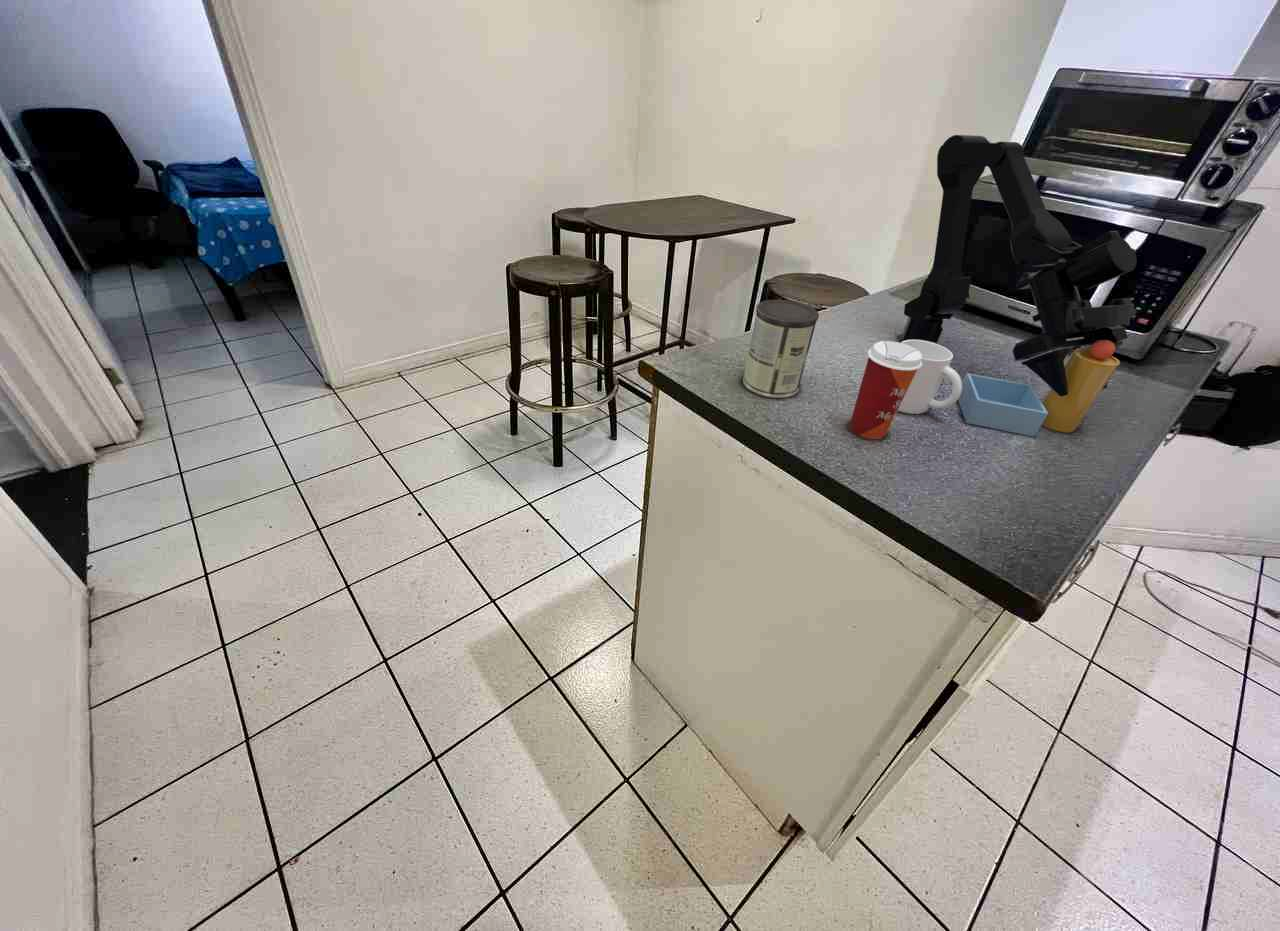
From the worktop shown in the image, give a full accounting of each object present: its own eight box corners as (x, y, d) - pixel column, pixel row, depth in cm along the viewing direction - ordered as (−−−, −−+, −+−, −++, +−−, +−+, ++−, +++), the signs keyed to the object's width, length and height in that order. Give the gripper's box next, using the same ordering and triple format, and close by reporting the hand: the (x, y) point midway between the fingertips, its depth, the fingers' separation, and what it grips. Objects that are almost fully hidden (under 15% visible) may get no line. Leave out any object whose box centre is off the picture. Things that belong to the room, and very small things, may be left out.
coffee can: (761, 366, 102) (777, 294, 93) (808, 385, 97) (830, 311, 88) (731, 383, 96) (744, 307, 87) (779, 404, 90) (799, 326, 82)
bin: (965, 423, 89) (977, 400, 86) (956, 394, 97) (966, 373, 94) (1034, 436, 87) (1048, 413, 84) (1018, 406, 95) (1031, 384, 92)
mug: (958, 417, 90) (985, 362, 84) (932, 430, 86) (959, 374, 80) (896, 387, 98) (917, 335, 92) (870, 398, 94) (890, 345, 88)
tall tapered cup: (1039, 427, 89) (1080, 360, 82) (1029, 410, 94) (1068, 345, 86) (1080, 435, 88) (1126, 368, 80) (1068, 417, 93) (1111, 352, 85)
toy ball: (1088, 358, 83) (1103, 341, 81) (1082, 351, 85) (1096, 334, 83) (1108, 364, 82) (1123, 348, 80) (1102, 356, 84) (1116, 340, 82)
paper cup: (886, 448, 81) (921, 367, 73) (837, 432, 84) (865, 351, 76) (896, 426, 87) (929, 348, 78) (849, 412, 90) (876, 334, 81)
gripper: (1069, 282, 77) (1099, 384, 75) (1151, 275, 82) (1181, 370, 81) (999, 314, 87) (1024, 404, 86) (1076, 306, 93) (1101, 391, 92)
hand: (1083, 392), depth 86 cm, fingers open, 9 cm apart
